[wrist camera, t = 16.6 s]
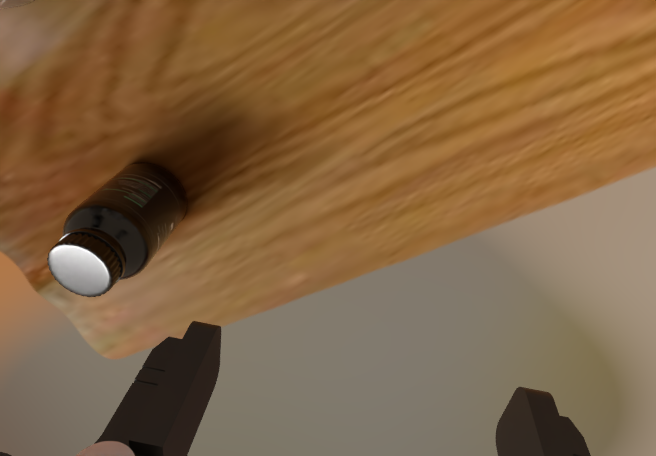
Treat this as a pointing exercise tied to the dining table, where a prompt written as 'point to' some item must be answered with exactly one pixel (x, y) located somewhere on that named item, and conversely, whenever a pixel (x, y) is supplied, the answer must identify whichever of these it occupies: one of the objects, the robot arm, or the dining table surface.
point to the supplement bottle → (117, 229)
